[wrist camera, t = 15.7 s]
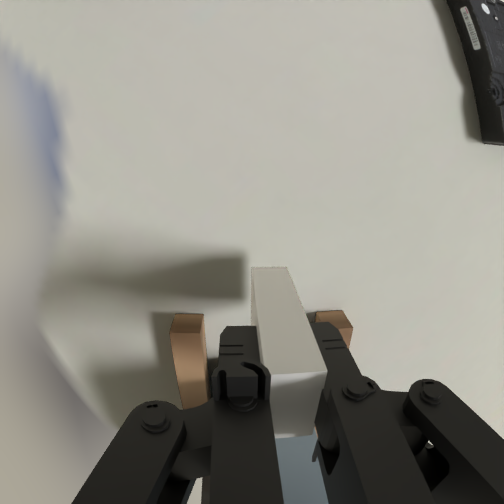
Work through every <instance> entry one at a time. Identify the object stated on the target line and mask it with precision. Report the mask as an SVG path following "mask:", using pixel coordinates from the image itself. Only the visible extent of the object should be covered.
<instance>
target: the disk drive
mask: <svg viewBox="0 0 504 504" xmlns="http://www.w3.org/2000/svg"><path fill="white" fill-rule="evenodd" d="M446 1H447V4H448V6H449V8H450V10H451V13H452V15H453V18H454V22H455V25H456V27H457V31H458V33H459V36H460V39H461V43H462V46H463V49H464V53H465V56H466V60H467V64H468V67H469V71H470V76H471V79H472V84H473V89H474V94H475V99H476V104H477V110H478V114H479V120H480V128H481V136H482V142H483V143H484V144H492V145H502V146H504V2H502V1H500V0H446Z"/></svg>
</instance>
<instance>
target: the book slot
mask: <svg viewBox="0 0 504 504" xmlns="http://www.w3.org/2000/svg"><path fill="white" fill-rule="evenodd" d="M315 322H330V323H331V324H332V325H334V326H335V327H336V328H337V329H338V330H339V331H340V333H341V335H342V337H343V340H344V341H345V343H346V345H347V348H348V349H349V345H350V341H351V336H352V331H353V327H352V325H351V323H350V322H349V320H348V319H347V317H346V315H345V314H344V312H343V311H342V310H341V311H324V312H316V319H315ZM169 334H170V340H171V347H172V353H173V359H174V365H175V370H176V376H177V381H178V386H179V391H180V396H181V401H182V406H183V410H184V409H189V408H194V407H197V406H200V405H202V404H204V403H206V402H208V401H209V400H210V399H211V393H210V383H209V373H208V363H207V352H206V341H205V328H204V315H203V314H175V317H174V320H173V323H172V326H171V329H170V332H169ZM315 430H316V427H315ZM316 434H317V431H316ZM317 438H318V435H317ZM209 501H210V475H209V476H205V477H203V479H202V499H201V504H209Z"/></svg>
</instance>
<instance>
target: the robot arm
mask: <svg viewBox="0 0 504 504" xmlns="http://www.w3.org/2000/svg"><path fill="white" fill-rule="evenodd" d="M211 379H212V389H213V397H212V398H211V399H210V400H209V401H208V402H206V403H204V404H202V405H200V406H197V407H194V408H189V409H184V410H179V409H178V408H177V407H176V406H175V405H173V404H170V403H168V402H165V401H150V402H145V403H143V404H141V405H139V406H137V407H136V408H135V409H134V410H133V411H132V412H131V413H130V414H129V416H128V417H127V419H126V420H125V422H124V423H123V425H122V426H121V428H120V430H119V431H118V433H117V434H116V436H115V437H114V439H113V440H112V442H111V443H110V445H109V446H108V448H107V449H106V451H105V452H104V454H103V456H102V457H101V459H100V460H99V462H98V463H97V465H96V466H95V468H94V469H93V471H92V473H91V474H90V476H89V477H88V479H87V480H86V482H85V483H84V485H83V486H82V488H81V490H80V491H79V493H78V494H77V496H76V497H75V499H74V501H73V502H72V504H187V501H188V499H189V496H190V494H191V491H192V488H193V486H194V483H195V481H196V478H200V477H205V476H209V475H210V501H209V504H284V500H283V492H282V485H281V478H280V471H279V464H278V457H277V450H276V442H275V438H288V437H299V436H308V435H312V434H313V430H314V427H316V431H317V435H318V439H317V442H316V445H315V448H314V452H313V455H312V462H316V459H317V456H318V461H319V465H320V469H321V473H322V477H323V482H324V486H325V490H326V494H327V499H328V503H329V504H504V439H503V438H502V437H500V436H499V435H498V434H497V433H496V432H495V431H494V430H493V429H492V428H491V427H490V426H489V425H488V424H487V423H486V422H485V421H484V420H482V419H481V418H480V417H479V416H478V415H477V414H476V413H475V412H474V411H473V410H472V409H471V408H470V407H468V406H467V405H466V404H465V403H464V402H463V401H462V400H461V399H460V398H459V397H458V396H456V395H455V394H454V393H453V392H452V391H451V390H450V389H449V388H448V387H447V386H445V385H444V384H442V383H441V382H439V381H435V380H432V379H422V380H419V381H416V382H415V383H413V384H412V385H411V387H410V389H409V392H395V391H385V390H381V389H380V387H379V386H378V385H377V384H376V383H375V381H373V380H371V379H370V378H368V377H366V376H362V375H361V373H360V371H359V369H358V367H357V365H356V363H355V361H354V359H353V357H352V355H351V353H350V351H349V349H348V348H347V345H346V343H345V341H344V340H343V337H342V335H341V333H340V331H339V330H338V329H337V328H336V327H335V326H334V325H332V324H331V323H330V322H313V323H309V321H308V319H307V316H306V314H305V311H304V309H303V306H302V304H301V301H300V299H299V296H298V294H297V291H296V289H295V286H294V284H293V281H292V279H291V276H290V274H289V271H288V269H287V267H251V326H227V327H226V328H225V329H224V331H223V332H222V333H221V334H220V347H219V361H218V366H217V367H216V368H215V369H214V371H213V374H212V376H211ZM428 441H430V442H431V443H432V444H433V445H431V444H429V443H428Z"/></svg>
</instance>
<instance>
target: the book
mask: <svg viewBox="0 0 504 504" xmlns="http://www.w3.org/2000/svg"><path fill="white" fill-rule="evenodd" d="M317 439H318V438H317V434H316V430H315V427H314V430H313V434H312V435H308V436H299V437H288V438H275V442H276V450H277V457H278V464H279V471H280V478H281V485H282V492H283V500H284V504H329V503H328V499H327V494H326V490H325V486H324V482H323V477H322V473H321V469H320V465H319V461H318V456H317V459H316V462H312V455H313V452H314V448H315V445H316V442H317Z"/></svg>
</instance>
